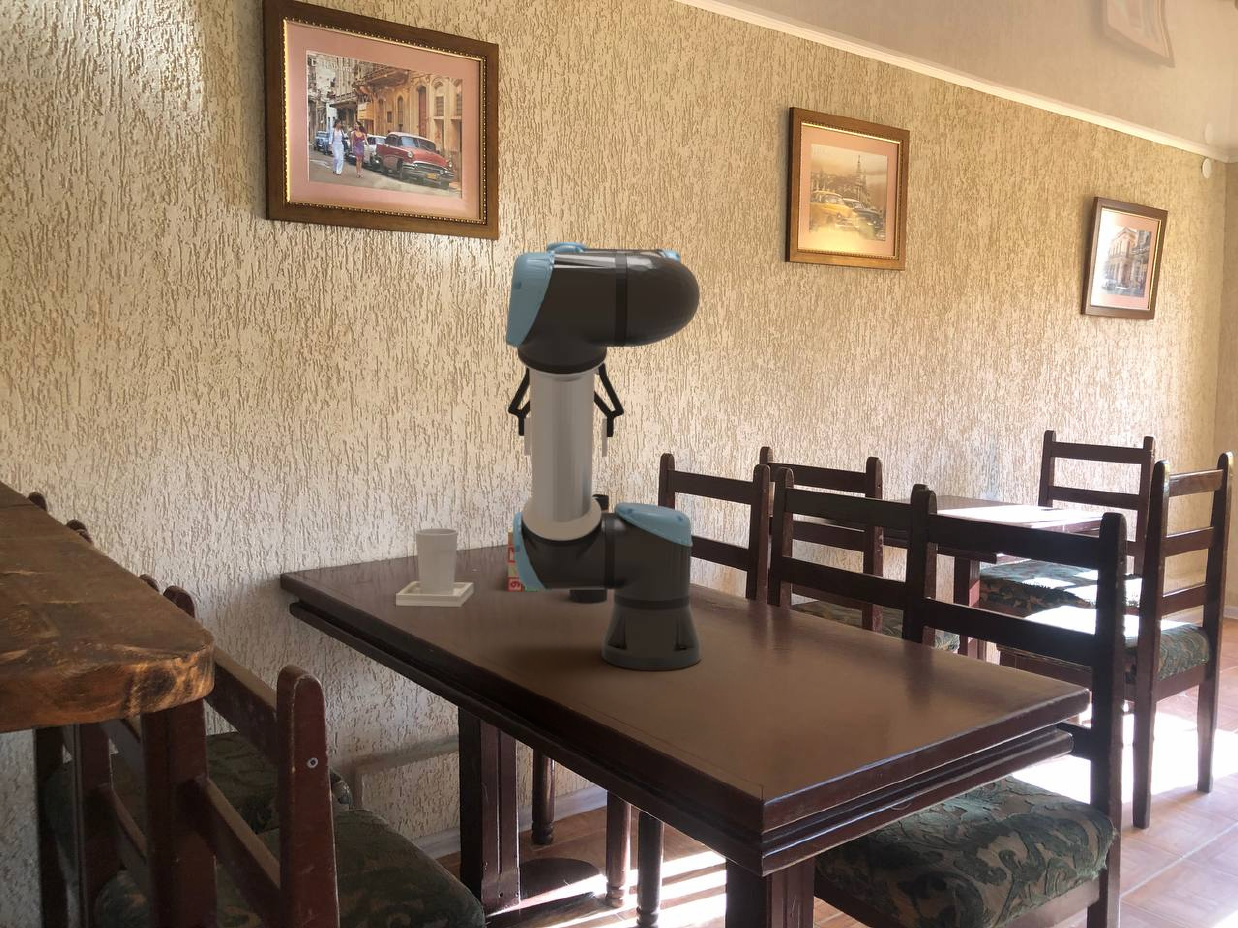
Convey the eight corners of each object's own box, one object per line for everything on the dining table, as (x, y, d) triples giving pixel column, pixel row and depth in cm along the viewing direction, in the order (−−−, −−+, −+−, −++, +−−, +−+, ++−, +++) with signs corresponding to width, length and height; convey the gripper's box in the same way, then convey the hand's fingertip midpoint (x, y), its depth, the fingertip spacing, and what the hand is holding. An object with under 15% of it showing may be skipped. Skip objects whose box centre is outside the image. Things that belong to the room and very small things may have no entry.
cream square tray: (460, 606, 182) (460, 596, 182) (395, 605, 182) (395, 594, 182) (473, 592, 194) (473, 582, 193) (413, 591, 194) (413, 581, 194)
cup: (448, 599, 183) (448, 535, 182) (408, 597, 185) (408, 533, 184) (464, 590, 191) (464, 529, 190) (425, 588, 193) (425, 527, 191)
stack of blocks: (517, 570, 217) (517, 515, 215) (545, 571, 217) (545, 515, 216) (507, 592, 195) (507, 530, 194) (539, 592, 195) (539, 531, 194)
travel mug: (591, 605, 184) (592, 499, 182) (560, 599, 189) (561, 495, 187) (616, 598, 190) (617, 495, 188) (585, 592, 195) (586, 492, 193)
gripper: (639, 335, 174) (637, 455, 176) (499, 334, 176) (499, 452, 177) (637, 333, 167) (635, 458, 169) (491, 332, 168) (491, 456, 170)
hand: (565, 455), depth 173 cm, fingers open, 13 cm apart
